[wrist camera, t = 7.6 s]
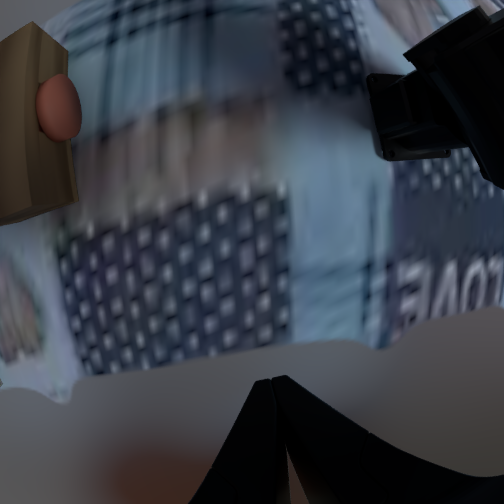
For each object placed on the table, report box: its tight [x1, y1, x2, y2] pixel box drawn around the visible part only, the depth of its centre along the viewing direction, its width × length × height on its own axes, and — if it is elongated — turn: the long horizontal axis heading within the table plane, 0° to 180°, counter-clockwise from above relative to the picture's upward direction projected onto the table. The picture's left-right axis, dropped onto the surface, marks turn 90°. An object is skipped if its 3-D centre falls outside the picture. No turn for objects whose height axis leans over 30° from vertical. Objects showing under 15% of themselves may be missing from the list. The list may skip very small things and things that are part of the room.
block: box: [0, 21, 79, 226], centre depth 13 cm, size 6×12×6 cm, turn 10°
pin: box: [36, 74, 82, 143], centre depth 13 cm, size 10×4×4 cm, turn 100°
